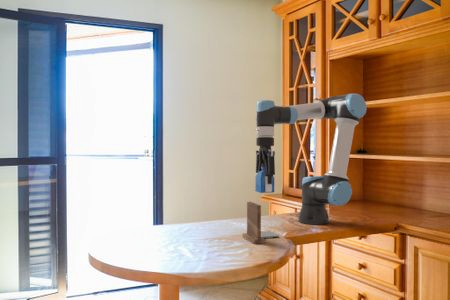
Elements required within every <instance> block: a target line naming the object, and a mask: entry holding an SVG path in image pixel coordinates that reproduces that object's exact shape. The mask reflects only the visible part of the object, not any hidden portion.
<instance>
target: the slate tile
mask: <svg viewBox="0 0 450 300" xmlns="http://www.w3.org/2000/svg"><path fill="white" fill-rule="evenodd" d="M261 237H262V238H266V239H274V238H273V237H278V238H280V235H279V234H277V233H275V232H272V231H271V230H265V231H261Z"/></svg>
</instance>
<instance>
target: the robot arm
mask: <svg viewBox="0 0 450 300" xmlns="http://www.w3.org/2000/svg"><path fill="white" fill-rule="evenodd" d="M256 103H257V104H256V113H255V120H256V129H255V131H256V139H255V140H256V142H255V143H256V146H257V147H259V150H255V154H256V155H255V156H256V157H255V173H256V174H258V172H259V171H262V169H261V166H262V165H261V164H265V168H266V175H265V192H272V176H275V175H276V166H275V165H276V164H275V154H276V152H275V150H272V147H274V146H275V138H274V136H275V125H293V124H296V122H297V121H302V120H310V119H316V120H325V119H327V120H329V119H330V120H333V121H334V122H335V124H336V125H335V130H334V135H333V140H332V141H333V142H332V147H331V152H330V158H329V164H328V168H327V172H326V173H323V175H319V176H318V175H316V176H315V175H314V176H305V177H303V178H302V181H301V208H300V211H299V215H298V218H297V220H298V222H299V223H301V224H306V225H327V224H329V223H330V218H329V214H328V211H327V207H326V204H327V205H331V206H334V207H335V206H337V207H338V206H340V207H341V206H344V205H346V204H347V203H348V202H349V201H350V199H351V198H352V195H353V188H352V184H351V183H349V180H350V178H349V177H348V176H347V173H348V166H349V160H350V156H351V151H352V150H351V149H352V145H353V138H354V133H355V127H356V126H357V125H359V123H360V119H361V118H363V117H364V116H365V115H366V113H367V109H368V108H367V103H366V101H365V98H364V96H362V95H361V94H359V93H347V94H342V95H341V94H340V95H334V96H329V97H327V98H322V99H319V100H318V99H317V100H315V101H313V102H310V103H303V104H301V103H300V104H294V105H284V106H282V105H281V106H280V105H278V106H277V105H275V101H274V100H269V99H265V100H264V99H263V100H258V101H257V102H256Z"/></svg>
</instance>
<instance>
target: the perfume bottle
mask: <svg viewBox="0 0 450 300" xmlns="http://www.w3.org/2000/svg"><path fill="white" fill-rule="evenodd" d="M261 165H262V166H261V169H262V171H259V172H258V173H256V176H255V192H256V193H260V194H264V193H265V194H267V193H271V194H273V193H275V175H273V176H272V192H265V175H266V168H265V164H261Z"/></svg>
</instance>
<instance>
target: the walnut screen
mask: <svg viewBox="0 0 450 300" xmlns="http://www.w3.org/2000/svg"><path fill="white" fill-rule="evenodd" d="M261 223H262V205H261V204H258V203H255V202H252V201H247V202H246V233H242V236H241V237H242V238H243V239H245V240H246V241H248V242H250V243H252V244H254V245H260V244H259V243H261V244H266V239H267V238H266V239H264V238H262V237H261V232H262V224H261Z"/></svg>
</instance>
